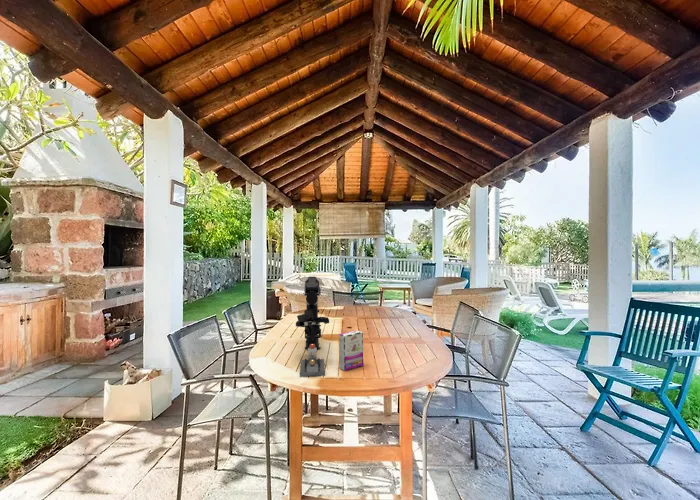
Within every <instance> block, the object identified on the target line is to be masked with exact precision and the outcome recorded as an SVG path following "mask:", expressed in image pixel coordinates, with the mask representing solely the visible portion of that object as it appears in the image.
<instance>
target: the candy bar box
mask: <svg viewBox="0 0 700 500" xmlns="http://www.w3.org/2000/svg"><path fill="white" fill-rule="evenodd" d="M338 360H339V361H338V364H339V367H338V368H339V369H340V370H342V371H343V372H347V371H350V370H354V369H358V368H361V367H364V332H363V331H361V330H353V331H347V332H342V333H339V334H338Z"/></svg>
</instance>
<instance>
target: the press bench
mask: <svg viewBox="0 0 700 500" xmlns="http://www.w3.org/2000/svg"><path fill="white" fill-rule="evenodd" d="M325 368H326V367H325V360H324V358H318V357H317V363H315V360H314V359H311V360H310V362H309V363H308V358H305V359H300V367H299V377H301V378H302V377H303V378H305V377H323V376H326V370H325Z"/></svg>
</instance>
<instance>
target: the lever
mask: <svg viewBox="0 0 700 500" xmlns="http://www.w3.org/2000/svg"><path fill="white" fill-rule="evenodd" d="M317 351H318V349H317V347H315V344H310V346H309V347H308V349H307V360H308V363H309V362H310V360H311V359H314V360H315V363H317V359H318V356H317V355H318V352H317Z"/></svg>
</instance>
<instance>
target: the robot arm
mask: <svg viewBox="0 0 700 500" xmlns="http://www.w3.org/2000/svg"><path fill="white" fill-rule="evenodd" d="M320 287H321V286H320V281H319V279H317V276H307V279H306V280H305V281H304V295H303V296H304V297H305V301H306V305H305V306H306V309H305V310H304V312H303V313H300V314H298V315H297V316H296V318H297V320H296V322H295V327H298V328H304V339H305V346H304V349H306V350H308V347H309V346H310V344H315V347H317V350H319V349H321V346H319V345H320V343H319V342H320V340H319V339H321V338H322V329H321V326H322V325H321V323H324V325H326V324H330V319H329V317H327V316H319V313H320V310H319V307H318V306H319V305H318V304H319V303H318V302H319V296H320V295H321V290H322V289H321V288H320Z"/></svg>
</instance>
